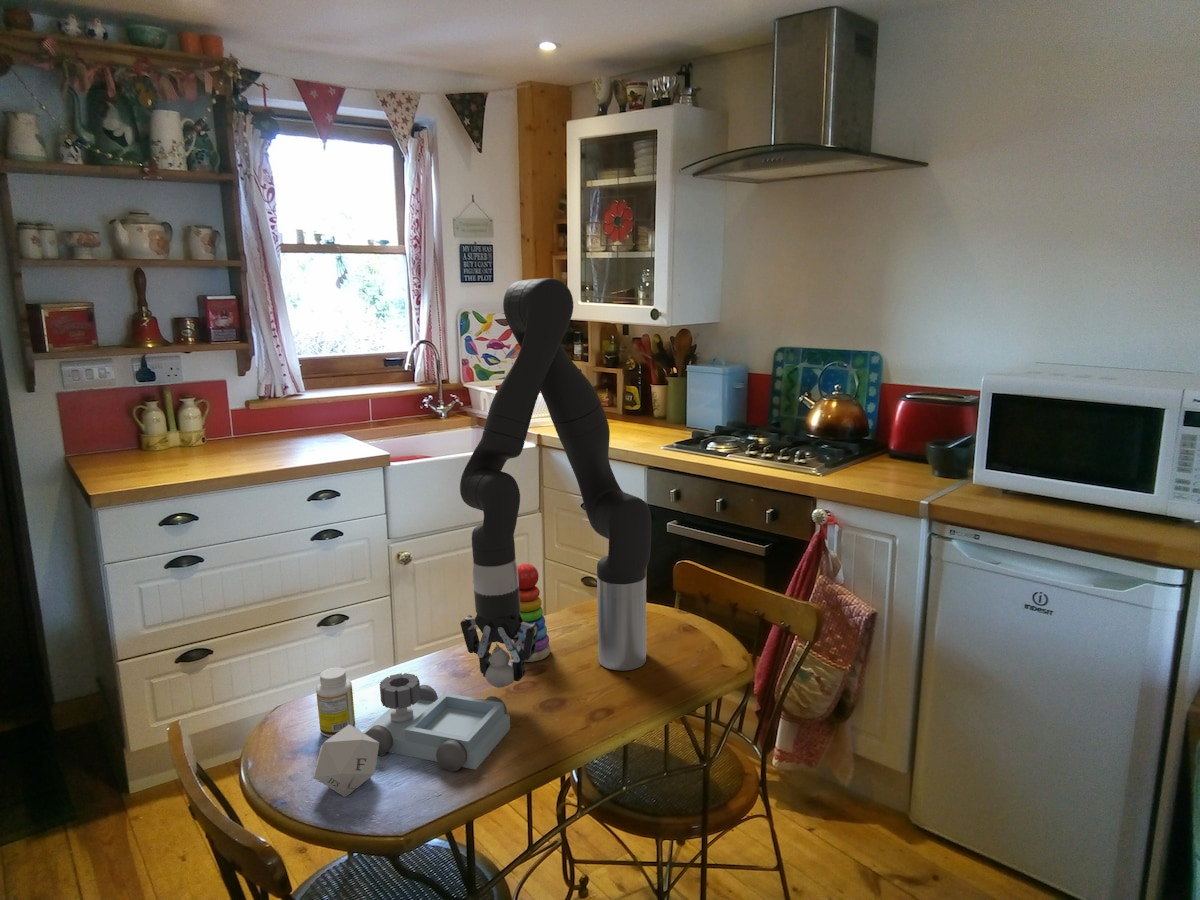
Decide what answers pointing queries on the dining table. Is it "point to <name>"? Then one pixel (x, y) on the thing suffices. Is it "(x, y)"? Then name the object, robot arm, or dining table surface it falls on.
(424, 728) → the chassis
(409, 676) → the spare wheel
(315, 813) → the dining table surface
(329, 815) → the dining table surface
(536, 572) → the stacking toy
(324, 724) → the supplement bottle
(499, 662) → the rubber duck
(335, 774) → the die
